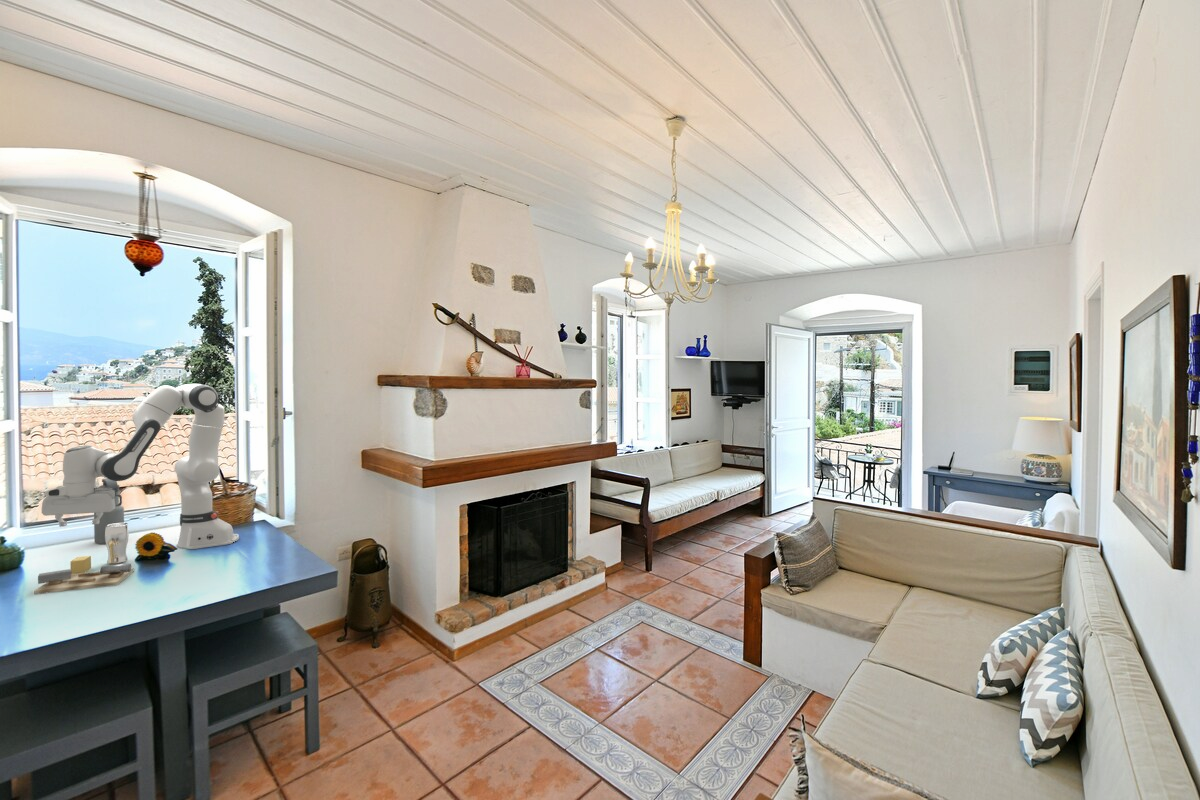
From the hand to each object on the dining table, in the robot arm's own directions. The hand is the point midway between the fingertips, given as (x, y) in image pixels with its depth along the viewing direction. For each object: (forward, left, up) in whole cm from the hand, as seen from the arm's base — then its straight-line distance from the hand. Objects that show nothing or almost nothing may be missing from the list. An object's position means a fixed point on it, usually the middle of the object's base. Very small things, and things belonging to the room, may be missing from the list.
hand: (79, 525), depth 197 cm
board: (-7, +14, -18) cm, 24 cm away
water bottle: (+6, -41, -18) cm, 45 cm away
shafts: (-7, +15, -16) cm, 23 cm away
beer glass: (-8, -8, -18) cm, 21 cm away
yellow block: (0, 0, -18) cm, 18 cm away
